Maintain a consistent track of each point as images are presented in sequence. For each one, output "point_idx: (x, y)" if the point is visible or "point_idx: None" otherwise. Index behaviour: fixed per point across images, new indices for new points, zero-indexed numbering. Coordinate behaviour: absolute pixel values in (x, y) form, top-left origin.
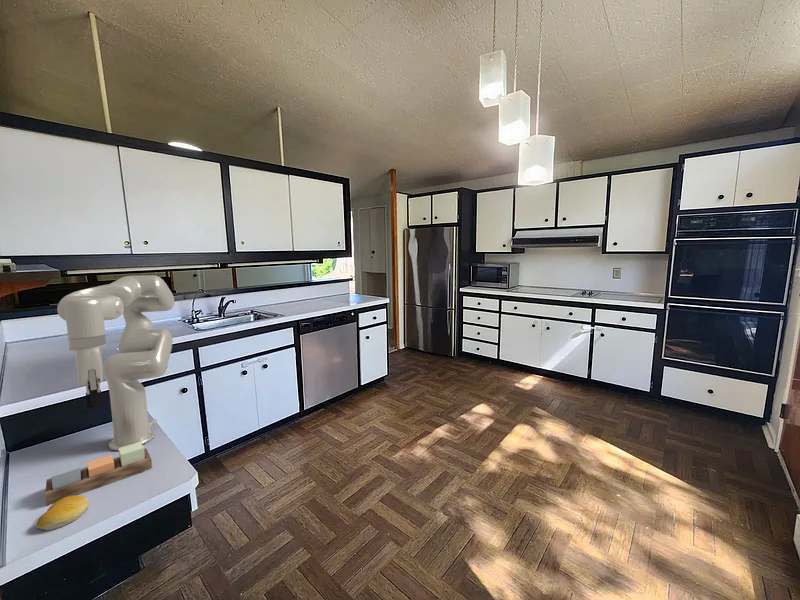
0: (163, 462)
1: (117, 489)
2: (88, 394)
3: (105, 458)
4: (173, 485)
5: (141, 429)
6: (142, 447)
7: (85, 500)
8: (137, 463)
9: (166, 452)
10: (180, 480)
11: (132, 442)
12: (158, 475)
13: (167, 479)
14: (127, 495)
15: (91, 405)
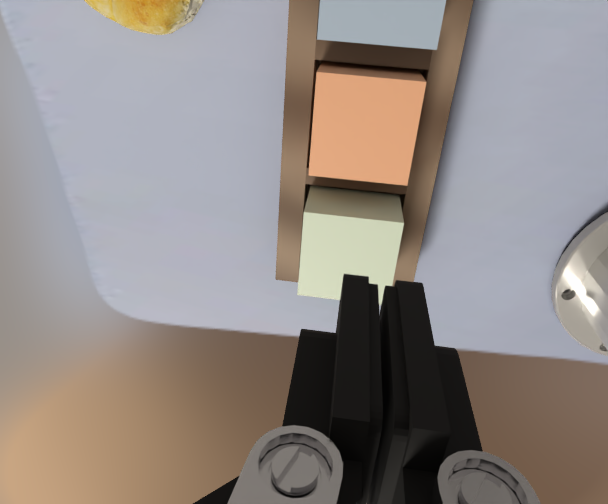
0: None
1: (214, 135)
2: (267, 444)
3: (389, 155)
4: (99, 266)
5: (605, 342)
6: (308, 292)
7: (131, 24)
8: (281, 236)
9: None
10: (116, 289)
11: (589, 274)
12: (208, 256)
13: (154, 266)
14: (138, 151)
15: (338, 319)
